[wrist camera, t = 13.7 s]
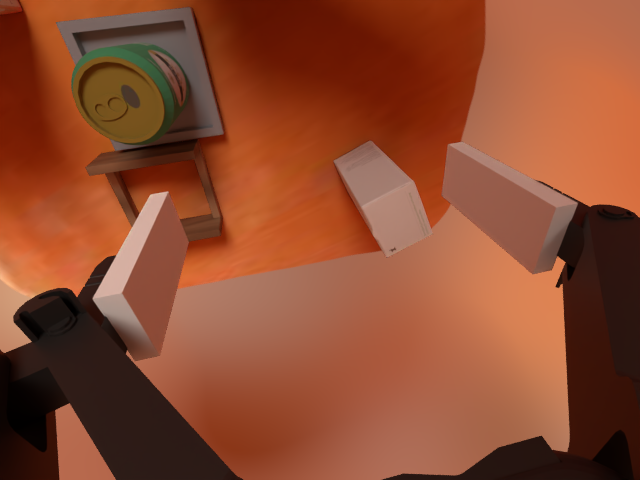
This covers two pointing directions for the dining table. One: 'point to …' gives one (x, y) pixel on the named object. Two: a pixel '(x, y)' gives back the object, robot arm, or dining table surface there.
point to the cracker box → (9, 6)
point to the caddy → (156, 156)
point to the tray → (171, 35)
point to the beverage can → (130, 91)
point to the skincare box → (384, 198)
